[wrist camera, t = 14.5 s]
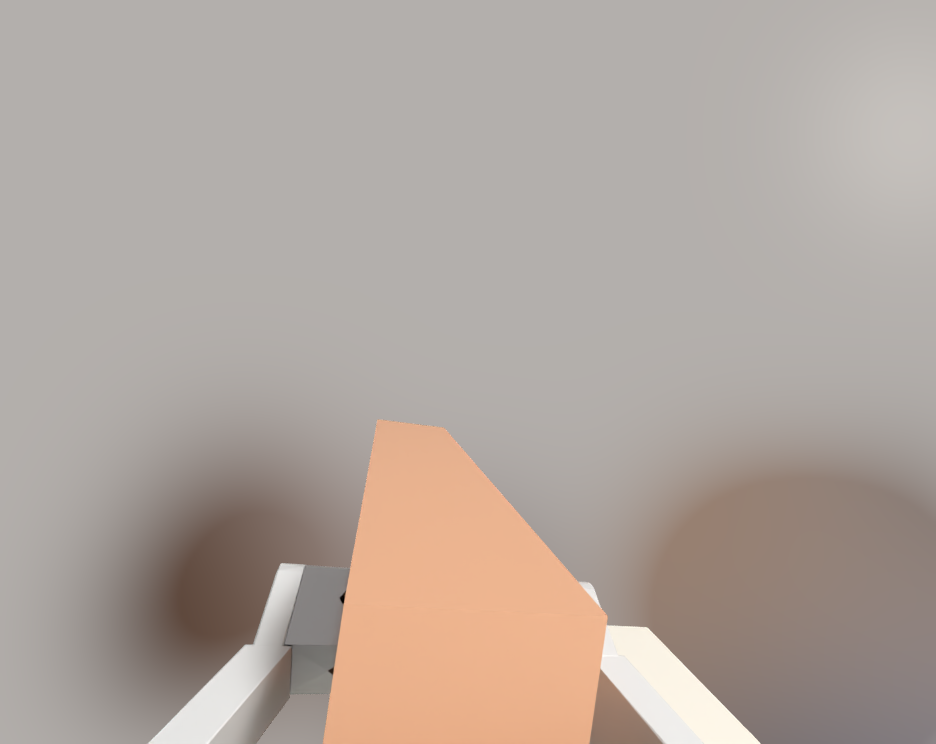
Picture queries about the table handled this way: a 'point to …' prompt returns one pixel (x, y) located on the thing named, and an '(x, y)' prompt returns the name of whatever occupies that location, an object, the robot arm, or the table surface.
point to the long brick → (457, 612)
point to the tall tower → (679, 687)
